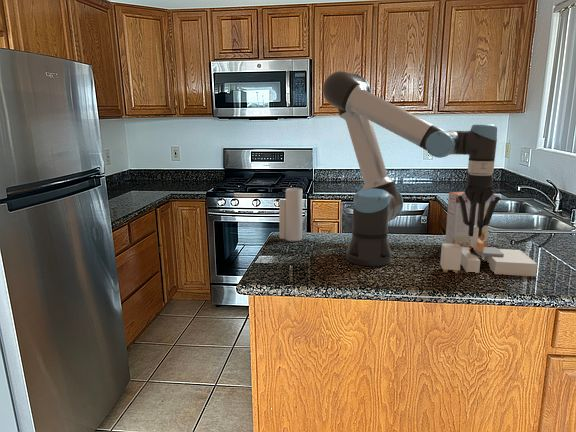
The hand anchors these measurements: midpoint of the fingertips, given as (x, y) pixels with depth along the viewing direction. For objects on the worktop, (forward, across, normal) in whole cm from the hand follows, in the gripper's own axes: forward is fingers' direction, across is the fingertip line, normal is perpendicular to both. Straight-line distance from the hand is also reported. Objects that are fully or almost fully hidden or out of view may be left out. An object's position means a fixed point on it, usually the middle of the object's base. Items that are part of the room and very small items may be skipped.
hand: (473, 245), depth 142 cm
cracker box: (+6, +2, +20) cm, 21 cm away
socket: (+6, +6, -2) cm, 9 cm away
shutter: (+2, +5, 0) cm, 5 cm away
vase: (+6, -65, +21) cm, 68 cm away
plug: (+6, -9, -9) cm, 14 cm away
